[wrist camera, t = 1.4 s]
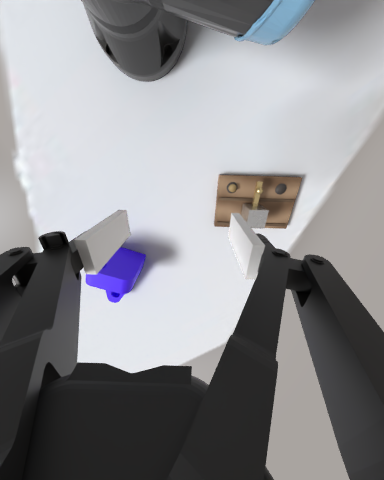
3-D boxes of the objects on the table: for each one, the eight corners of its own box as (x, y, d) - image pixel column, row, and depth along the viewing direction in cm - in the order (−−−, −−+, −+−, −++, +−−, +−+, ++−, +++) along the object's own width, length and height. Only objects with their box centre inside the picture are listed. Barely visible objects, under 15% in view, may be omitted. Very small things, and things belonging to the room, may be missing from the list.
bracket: (108, 242, 45) (82, 268, 34) (146, 254, 46) (131, 282, 36) (102, 287, 53) (79, 319, 42) (134, 296, 54) (120, 329, 44)
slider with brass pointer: (246, 180, 35) (254, 183, 30) (265, 180, 35) (275, 183, 30) (240, 219, 39) (245, 227, 34) (256, 220, 39) (264, 228, 34)
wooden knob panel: (218, 174, 36) (220, 175, 34) (298, 176, 36) (305, 178, 34) (214, 224, 41) (215, 227, 39) (282, 226, 41) (288, 230, 39)
